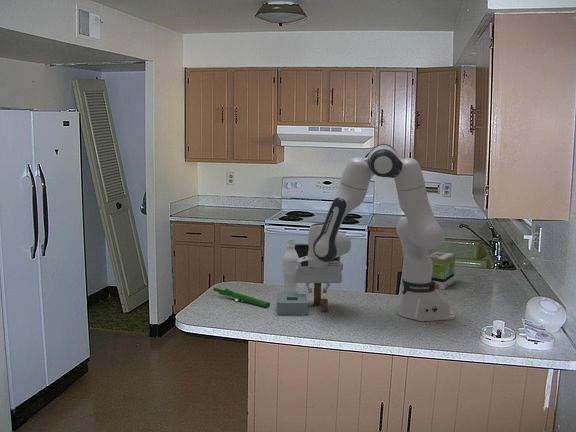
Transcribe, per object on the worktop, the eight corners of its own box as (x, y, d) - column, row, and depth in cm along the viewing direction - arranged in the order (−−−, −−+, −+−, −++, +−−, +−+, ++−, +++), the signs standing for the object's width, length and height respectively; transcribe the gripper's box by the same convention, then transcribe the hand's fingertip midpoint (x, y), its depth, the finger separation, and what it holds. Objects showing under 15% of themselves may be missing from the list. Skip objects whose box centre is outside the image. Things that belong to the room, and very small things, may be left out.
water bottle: (279, 297, 265) (280, 241, 261) (284, 293, 272) (285, 238, 268) (295, 299, 263) (296, 242, 259) (300, 294, 270) (301, 239, 266)
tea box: (444, 290, 281) (446, 259, 278) (423, 286, 286) (425, 256, 283) (454, 282, 293) (455, 253, 291) (433, 279, 298) (435, 250, 296)
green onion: (270, 308, 253) (216, 292, 269) (270, 301, 252) (217, 285, 269) (263, 311, 249) (209, 294, 266) (263, 304, 248) (209, 287, 265)
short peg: (327, 310, 249) (327, 298, 248) (327, 312, 246) (328, 300, 245) (319, 310, 248) (320, 298, 248) (320, 312, 245) (320, 300, 245)
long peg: (320, 303, 257) (321, 278, 256) (321, 305, 254) (321, 280, 253) (313, 303, 257) (313, 278, 255) (313, 305, 254) (314, 280, 252)
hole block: (305, 305, 254) (305, 294, 253) (307, 315, 242) (307, 303, 241) (277, 305, 253) (277, 294, 252) (277, 315, 241) (277, 303, 241)
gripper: (342, 259, 256) (341, 290, 258) (293, 258, 255) (293, 290, 258) (343, 262, 250) (343, 295, 252) (294, 262, 249) (294, 294, 251)
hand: (317, 292), depth 255 cm, fingers open, 5 cm apart
